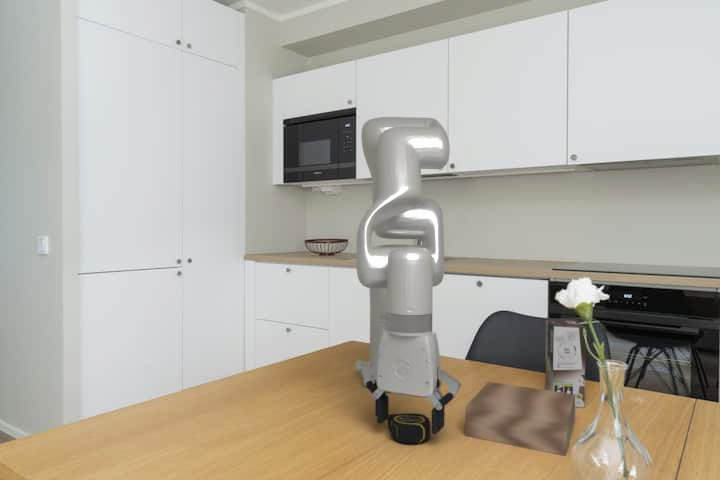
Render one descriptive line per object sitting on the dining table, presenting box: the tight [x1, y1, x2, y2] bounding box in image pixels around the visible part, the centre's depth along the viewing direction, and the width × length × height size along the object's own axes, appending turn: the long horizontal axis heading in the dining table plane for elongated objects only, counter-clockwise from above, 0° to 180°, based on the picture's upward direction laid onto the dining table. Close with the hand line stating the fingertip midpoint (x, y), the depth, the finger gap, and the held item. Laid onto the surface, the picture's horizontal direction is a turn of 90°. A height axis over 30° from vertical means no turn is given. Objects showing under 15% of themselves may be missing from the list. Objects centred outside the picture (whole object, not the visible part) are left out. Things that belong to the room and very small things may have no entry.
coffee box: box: [544, 318, 587, 408], centre depth 105 cm, size 9×6×16 cm
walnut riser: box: [464, 381, 576, 457], centre depth 89 cm, size 16×16×5 cm
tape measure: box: [387, 412, 431, 444], centre depth 85 cm, size 7×7×4 cm
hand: (409, 426), depth 84 cm, fingers open, 9 cm apart
